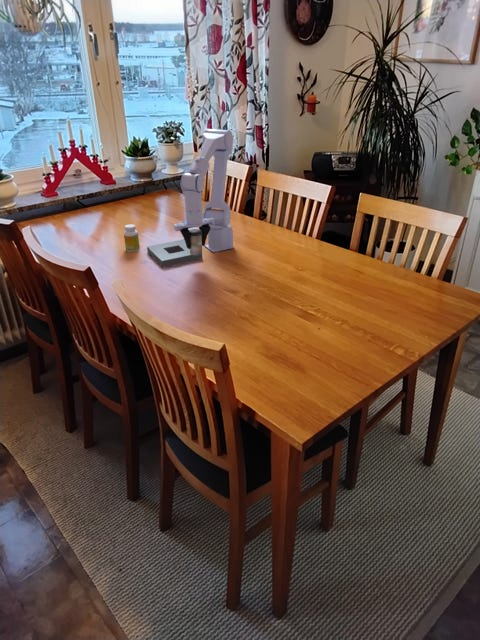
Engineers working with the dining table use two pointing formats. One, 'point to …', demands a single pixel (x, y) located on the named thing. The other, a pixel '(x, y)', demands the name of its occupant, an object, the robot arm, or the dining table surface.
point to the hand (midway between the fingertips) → (195, 246)
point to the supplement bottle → (131, 238)
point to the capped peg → (196, 242)
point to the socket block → (166, 259)
